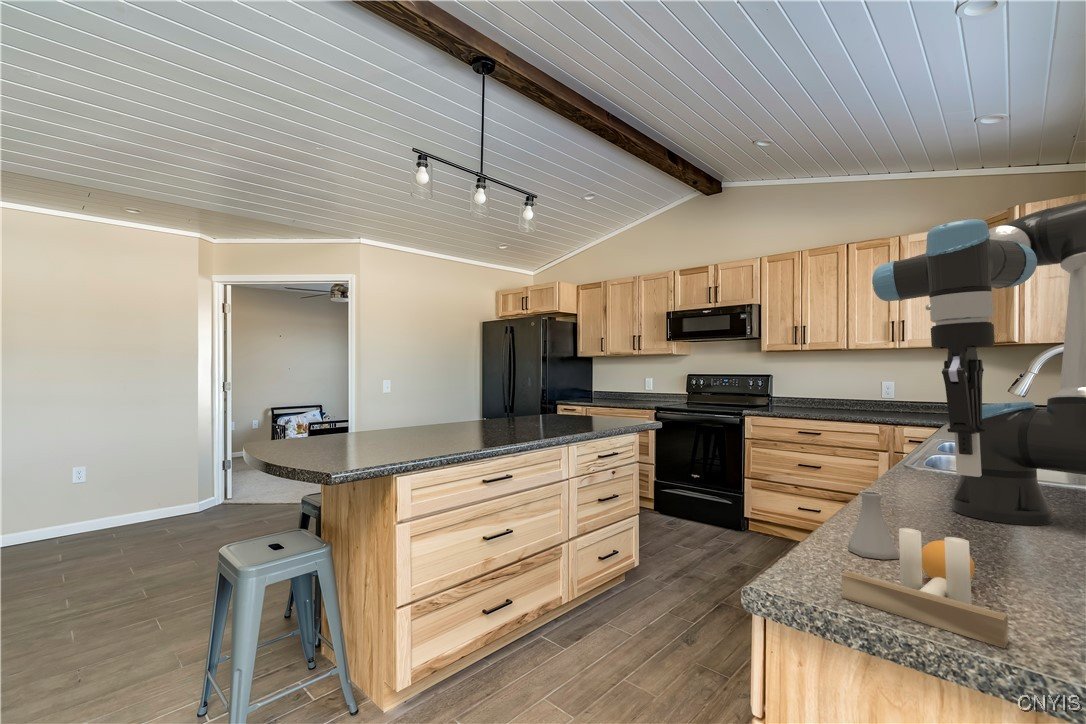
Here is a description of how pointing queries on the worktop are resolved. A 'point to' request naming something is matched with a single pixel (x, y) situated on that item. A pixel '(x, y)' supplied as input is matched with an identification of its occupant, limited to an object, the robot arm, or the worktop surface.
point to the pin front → (936, 587)
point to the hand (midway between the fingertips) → (968, 474)
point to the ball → (937, 560)
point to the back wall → (927, 608)
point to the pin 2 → (958, 569)
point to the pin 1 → (910, 558)
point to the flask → (872, 530)
